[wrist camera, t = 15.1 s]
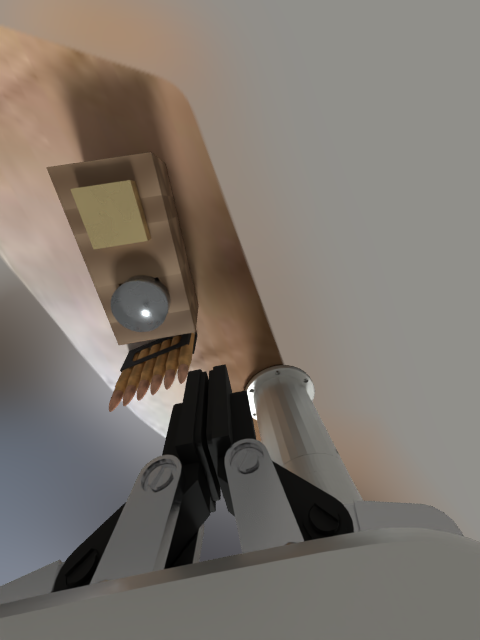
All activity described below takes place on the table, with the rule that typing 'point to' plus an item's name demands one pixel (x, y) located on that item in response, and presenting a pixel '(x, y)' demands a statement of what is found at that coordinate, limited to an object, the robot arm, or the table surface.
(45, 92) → the table surface
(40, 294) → the table surface
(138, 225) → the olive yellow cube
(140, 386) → the ammunition clip
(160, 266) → the block
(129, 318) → the pin
